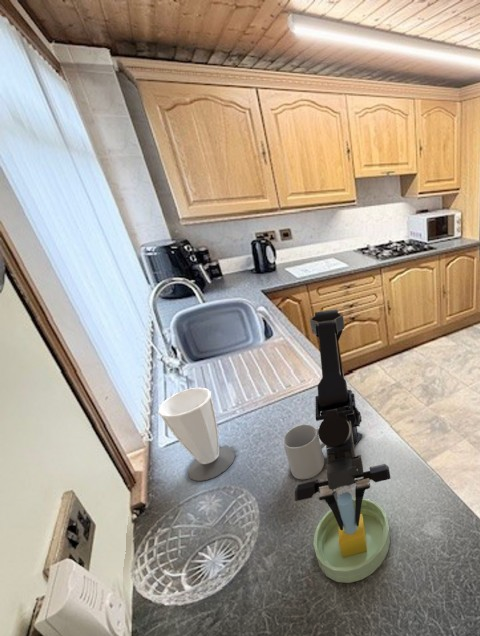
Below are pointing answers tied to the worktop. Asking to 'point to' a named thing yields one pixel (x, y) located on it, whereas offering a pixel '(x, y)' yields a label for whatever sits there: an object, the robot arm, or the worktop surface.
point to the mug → (304, 451)
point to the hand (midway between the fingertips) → (349, 527)
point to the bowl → (359, 563)
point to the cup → (197, 431)
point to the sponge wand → (350, 528)
